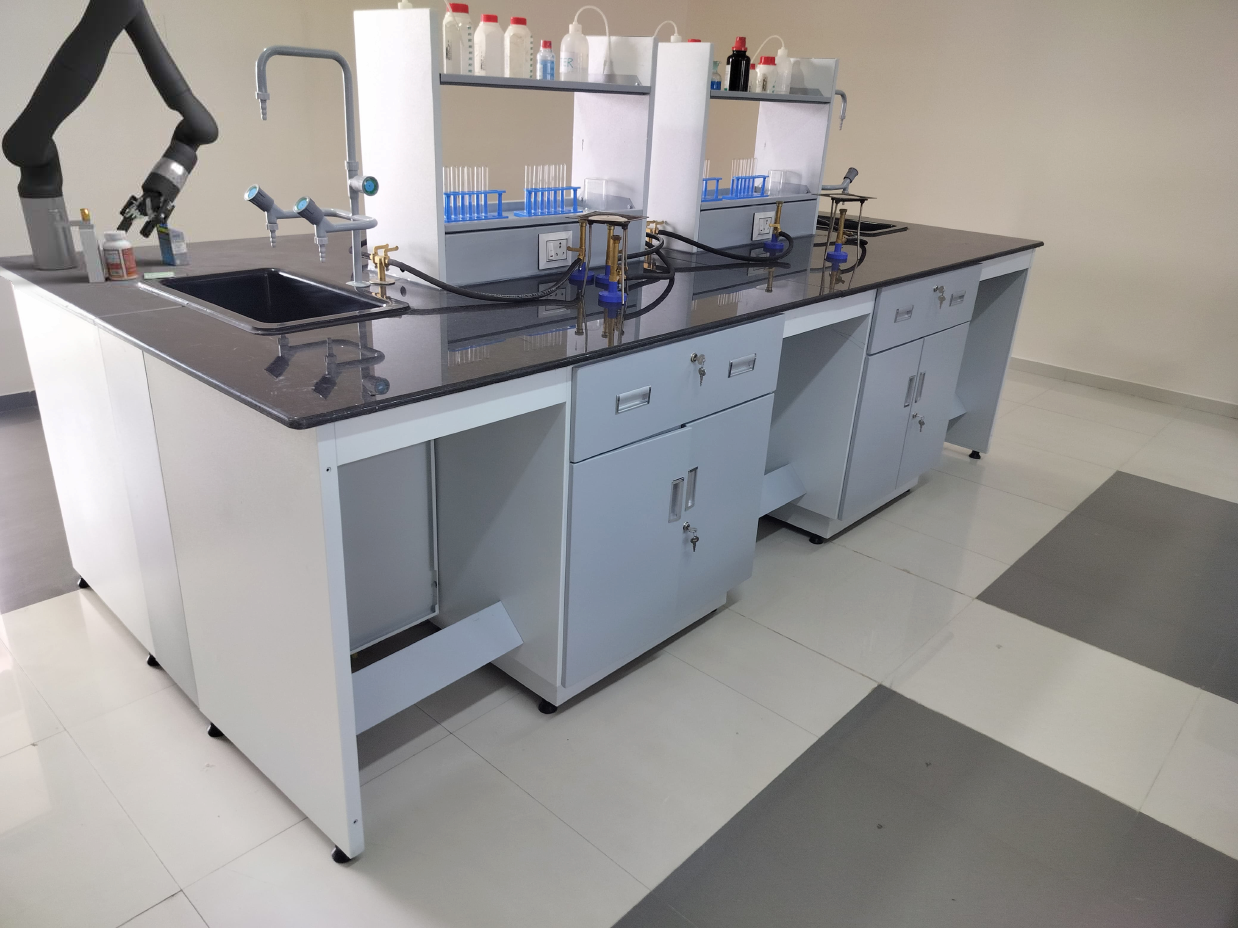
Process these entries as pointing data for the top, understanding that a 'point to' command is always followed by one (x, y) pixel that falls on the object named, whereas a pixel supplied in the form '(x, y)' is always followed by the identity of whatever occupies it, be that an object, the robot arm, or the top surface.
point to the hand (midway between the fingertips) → (131, 234)
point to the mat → (158, 275)
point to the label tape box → (172, 245)
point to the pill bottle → (119, 256)
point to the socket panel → (92, 253)
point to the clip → (83, 222)
